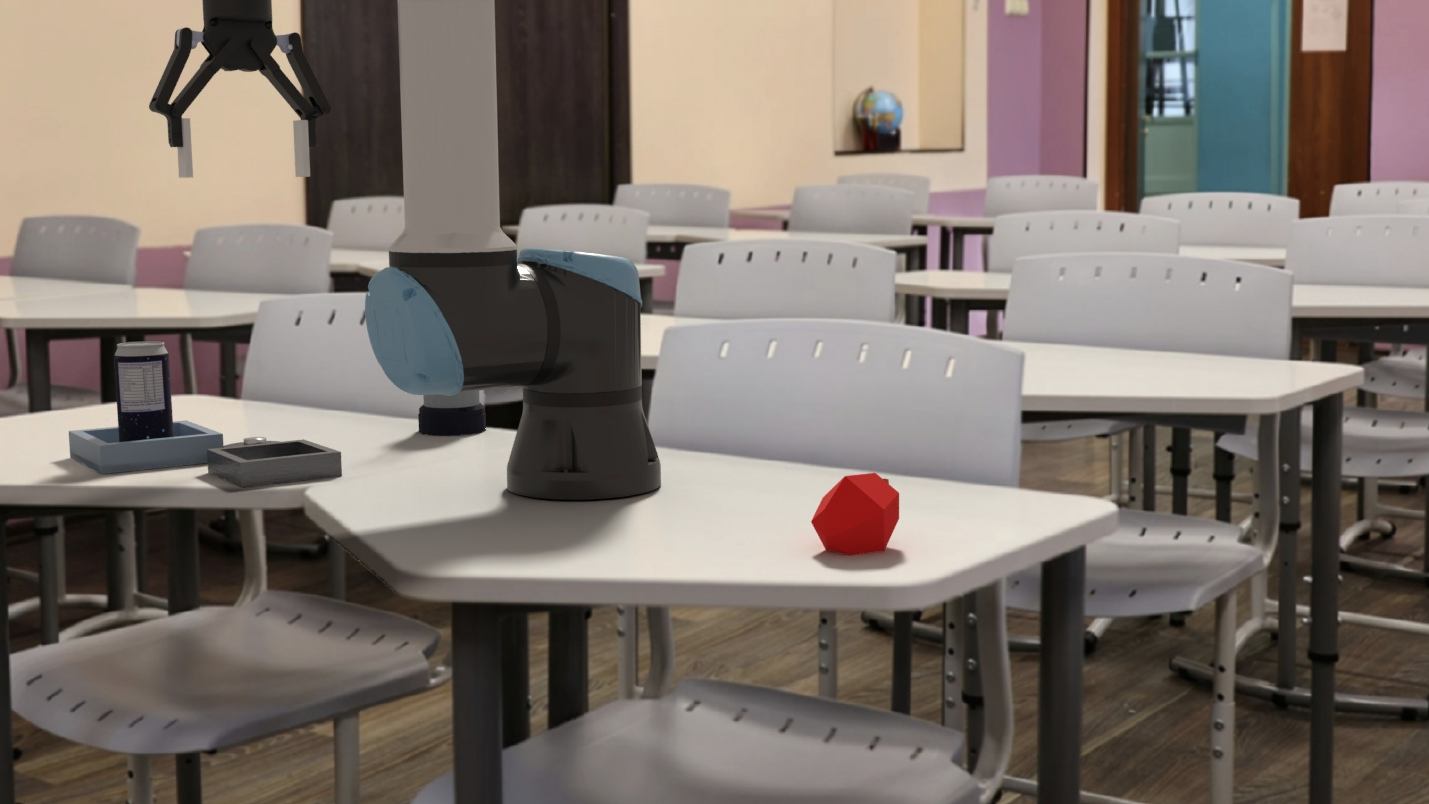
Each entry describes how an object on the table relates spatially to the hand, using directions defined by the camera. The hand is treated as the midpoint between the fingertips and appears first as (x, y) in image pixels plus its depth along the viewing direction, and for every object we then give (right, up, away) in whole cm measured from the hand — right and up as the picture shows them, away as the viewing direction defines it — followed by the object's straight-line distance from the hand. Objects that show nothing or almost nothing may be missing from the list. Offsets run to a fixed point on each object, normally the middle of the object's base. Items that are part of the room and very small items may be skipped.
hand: (245, 177), depth 186 cm
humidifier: (+22, -29, +12) cm, 38 cm away
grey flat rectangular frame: (+6, -33, -14) cm, 36 cm away
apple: (+65, -38, -54) cm, 93 cm away
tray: (-9, -32, -7) cm, 34 cm away
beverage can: (-9, -31, -7) cm, 33 cm away
